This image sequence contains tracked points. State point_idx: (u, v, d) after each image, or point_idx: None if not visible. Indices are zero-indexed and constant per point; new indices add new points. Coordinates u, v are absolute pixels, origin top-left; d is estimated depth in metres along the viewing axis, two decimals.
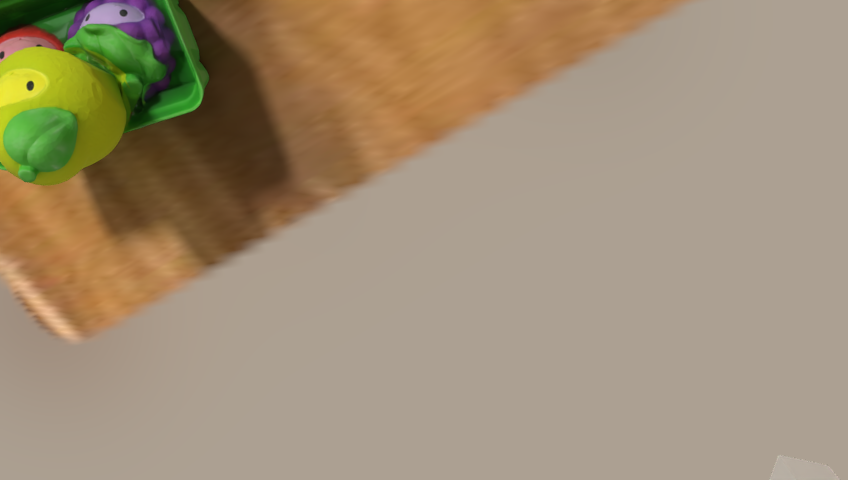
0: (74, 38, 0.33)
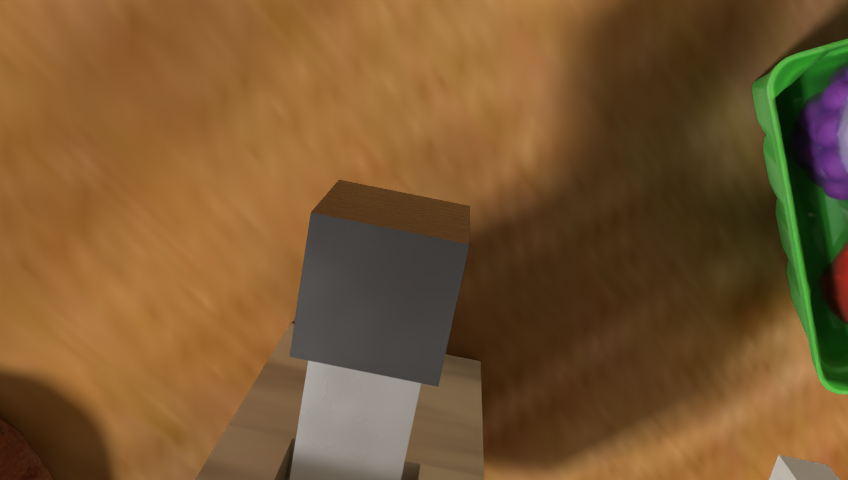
0: None
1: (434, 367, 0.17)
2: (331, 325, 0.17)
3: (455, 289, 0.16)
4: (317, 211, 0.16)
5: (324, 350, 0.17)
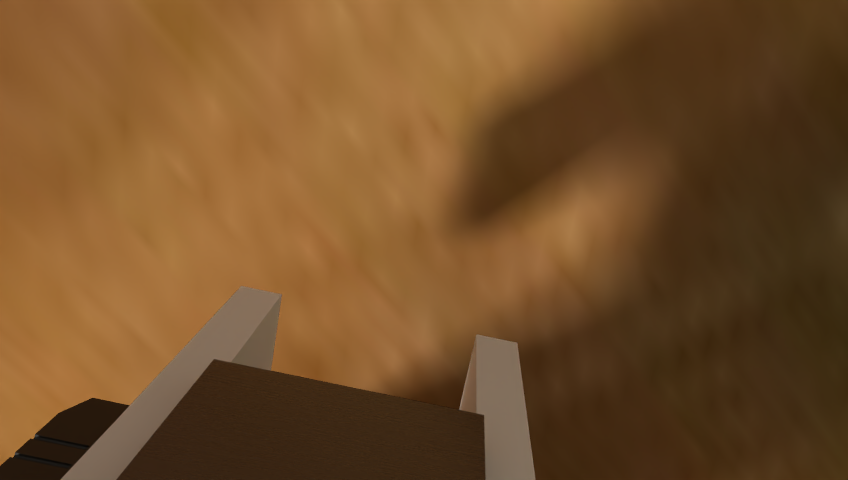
0: None
1: None
2: None
3: None
4: None
5: None
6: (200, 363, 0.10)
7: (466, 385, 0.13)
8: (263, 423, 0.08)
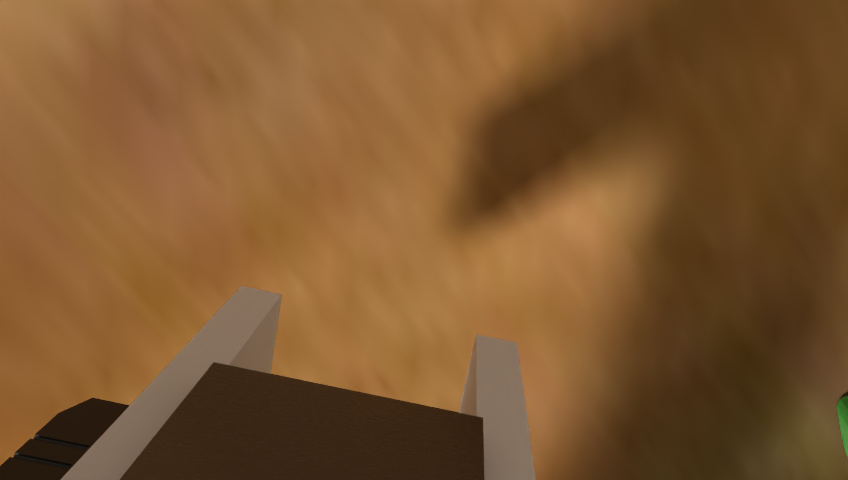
0: None
1: None
2: None
3: None
4: None
5: None
6: (200, 363, 0.10)
7: (466, 385, 0.13)
8: (262, 426, 0.08)
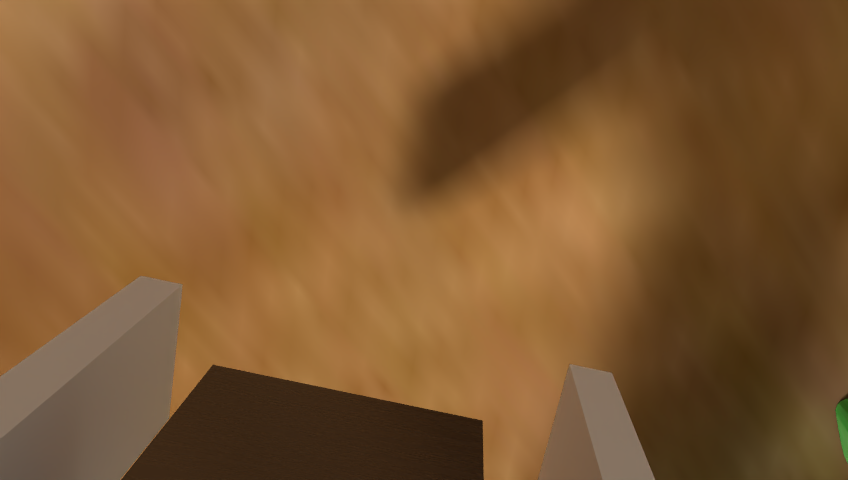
0: None
1: None
2: None
3: None
4: None
5: None
6: (67, 353, 0.10)
7: (560, 417, 0.12)
8: (262, 429, 0.08)
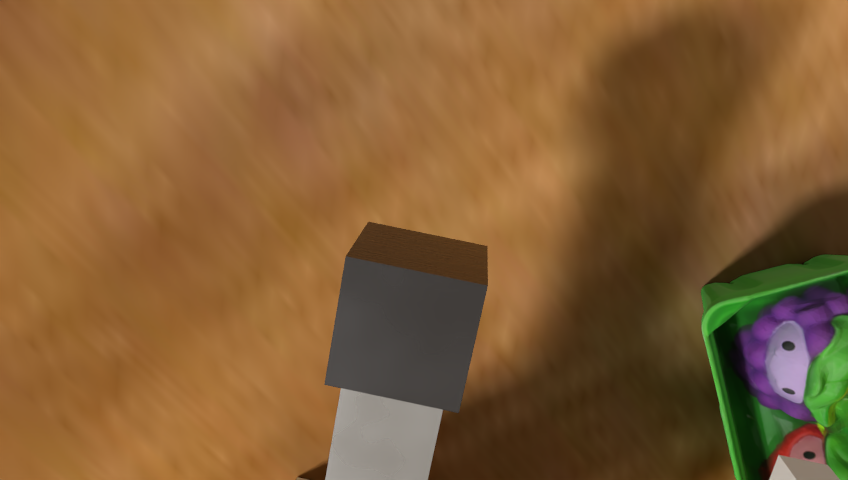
0: (815, 411, 0.25)
1: (455, 395, 0.19)
2: (362, 357, 0.19)
3: (474, 325, 0.18)
4: (351, 255, 0.18)
5: (356, 379, 0.19)
6: None
7: None
8: (397, 239, 0.20)
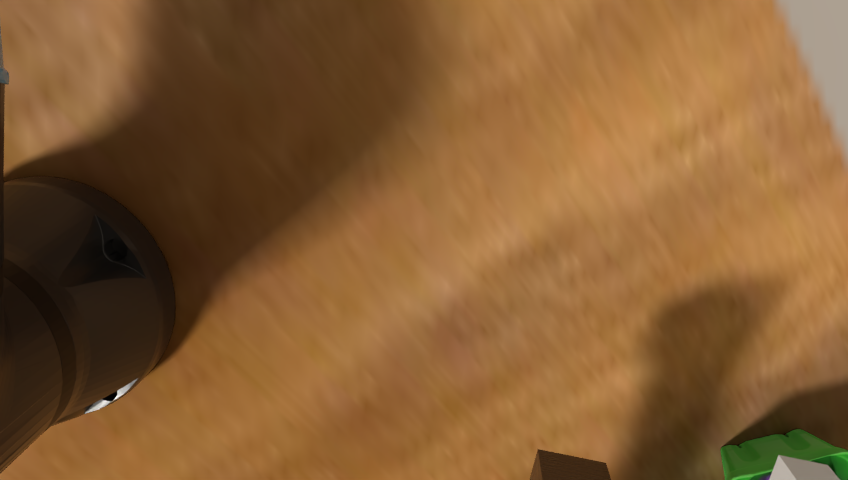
0: None
1: None
2: None
3: None
4: None
5: None
6: None
7: None
8: (559, 466, 0.36)
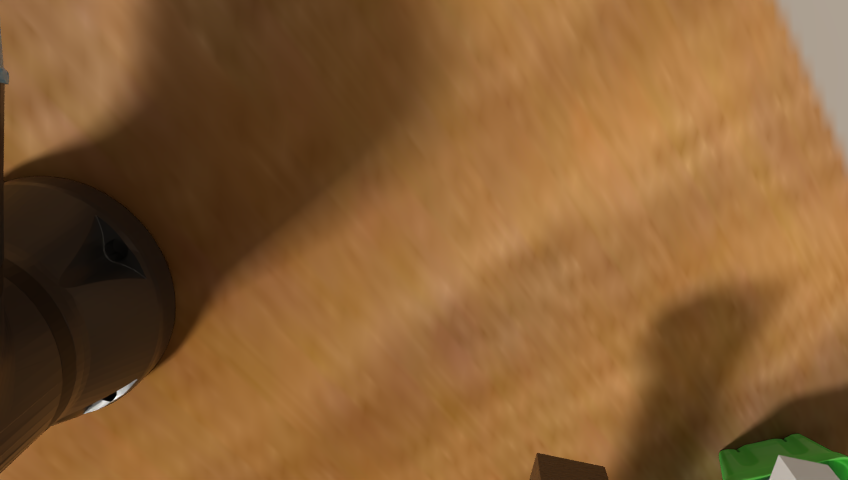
0: None
1: None
2: None
3: None
4: None
5: None
6: None
7: None
8: (558, 470, 0.36)
